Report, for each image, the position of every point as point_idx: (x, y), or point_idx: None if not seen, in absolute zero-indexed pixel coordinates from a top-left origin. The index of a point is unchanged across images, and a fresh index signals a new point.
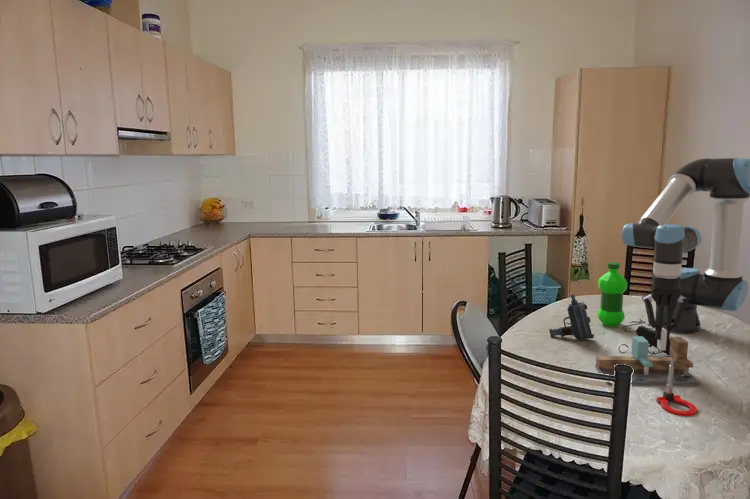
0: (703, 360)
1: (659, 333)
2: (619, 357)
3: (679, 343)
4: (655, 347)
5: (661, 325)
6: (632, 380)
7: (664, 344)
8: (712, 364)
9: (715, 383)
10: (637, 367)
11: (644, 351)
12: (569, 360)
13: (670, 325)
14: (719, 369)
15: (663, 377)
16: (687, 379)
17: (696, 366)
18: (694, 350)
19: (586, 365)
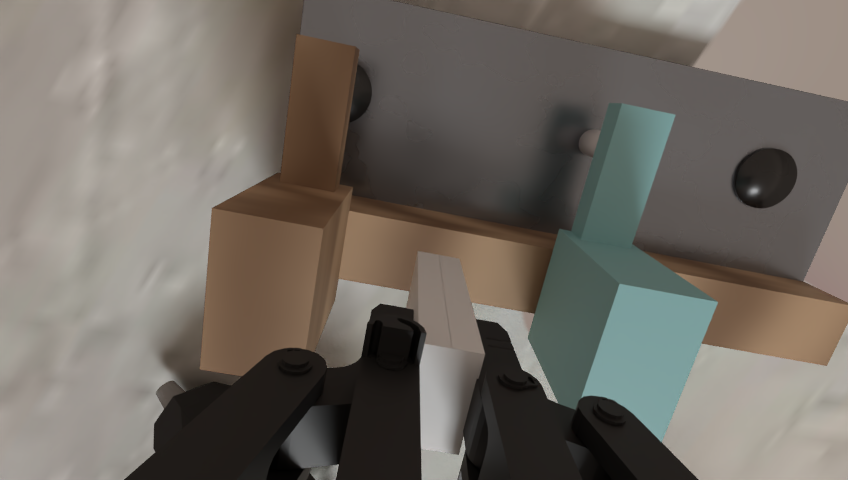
0: (74, 339)
1: (488, 355)
2: None
3: (308, 221)
4: (309, 473)
5: (504, 407)
6: (730, 77)
7: (433, 273)
8: (49, 279)
9: (185, 6)
10: None
11: (610, 256)
12: (826, 437)
13: (367, 385)
14: (44, 206)
15: (502, 91)
16: (364, 34)
17: (163, 266)
18: (54, 469)
19: (784, 366)
